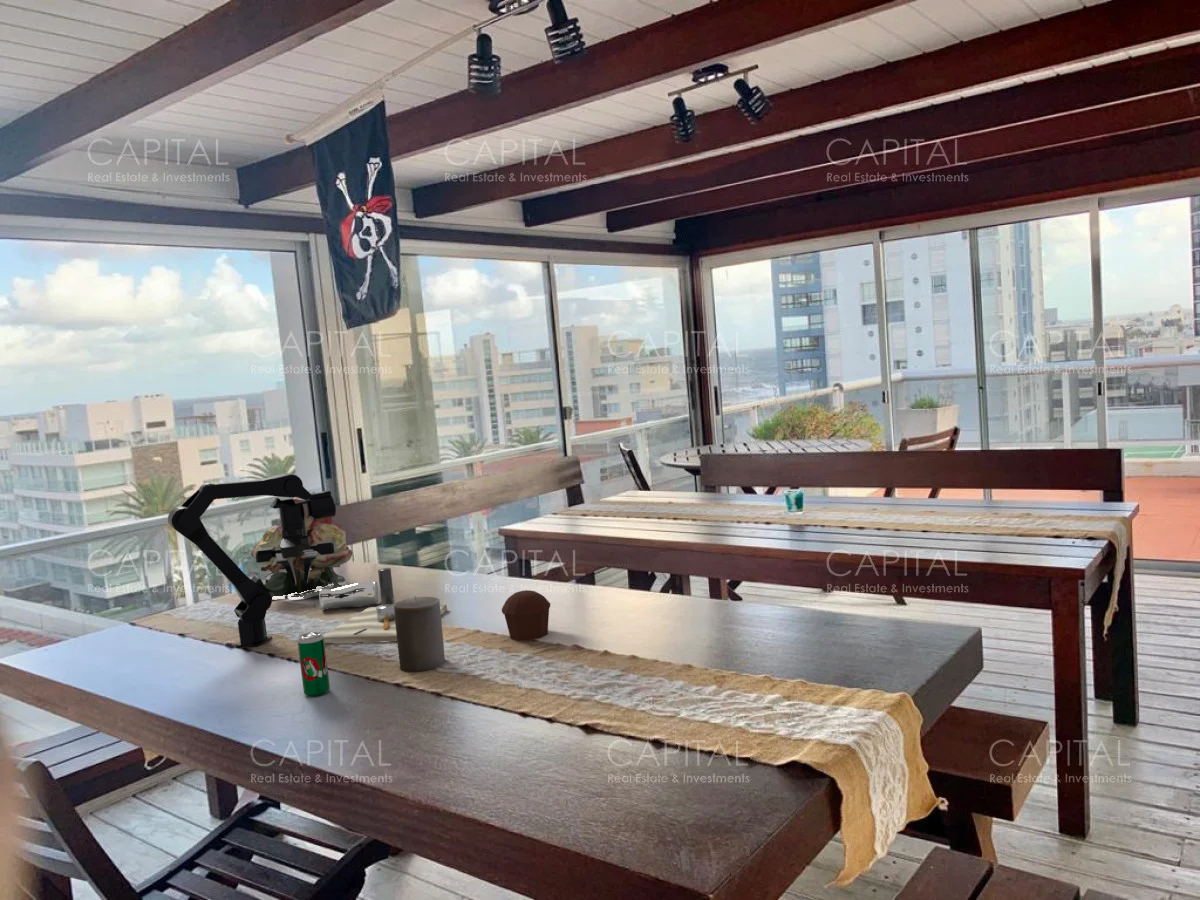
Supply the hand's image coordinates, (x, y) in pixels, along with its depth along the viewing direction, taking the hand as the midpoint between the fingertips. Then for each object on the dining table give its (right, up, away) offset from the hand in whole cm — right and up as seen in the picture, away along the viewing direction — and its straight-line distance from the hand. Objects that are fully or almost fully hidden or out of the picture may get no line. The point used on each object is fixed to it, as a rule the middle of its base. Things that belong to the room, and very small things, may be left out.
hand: (300, 584), depth 227 cm
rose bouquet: (-11, -9, +46) cm, 48 cm away
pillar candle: (+38, -12, -34) cm, 52 cm away
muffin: (+59, -9, -19) cm, 63 cm away
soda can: (+19, -15, -46) cm, 52 cm away
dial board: (+22, -10, -1) cm, 24 cm away
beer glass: (-1, -7, +21) cm, 22 cm away
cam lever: (+22, -8, -1) cm, 24 cm away
